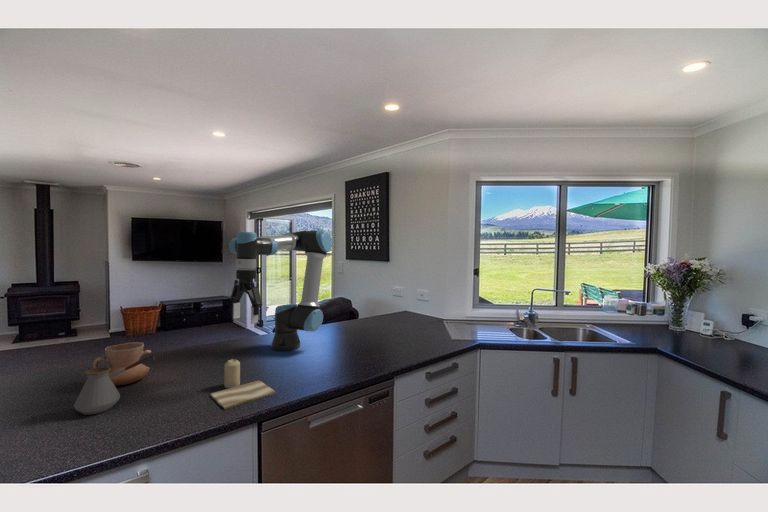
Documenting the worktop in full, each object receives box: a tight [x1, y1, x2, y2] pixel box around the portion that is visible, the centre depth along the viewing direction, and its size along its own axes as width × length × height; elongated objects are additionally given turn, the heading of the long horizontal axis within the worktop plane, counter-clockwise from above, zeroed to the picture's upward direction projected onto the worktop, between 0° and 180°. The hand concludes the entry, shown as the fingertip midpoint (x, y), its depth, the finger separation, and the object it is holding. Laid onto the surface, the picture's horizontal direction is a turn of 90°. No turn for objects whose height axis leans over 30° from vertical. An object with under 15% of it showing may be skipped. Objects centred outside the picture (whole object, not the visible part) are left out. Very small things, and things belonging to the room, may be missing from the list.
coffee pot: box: [73, 354, 156, 416], centre depth 111 cm, size 21×12×15 cm, turn 131°
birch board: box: [210, 380, 276, 410], centre depth 120 cm, size 14×18×1 cm
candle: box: [223, 358, 241, 389], centre depth 127 cm, size 6×6×10 cm
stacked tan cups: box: [92, 341, 152, 387], centre depth 129 cm, size 18×14×14 cm
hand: (245, 320), depth 135 cm, fingers open, 13 cm apart
